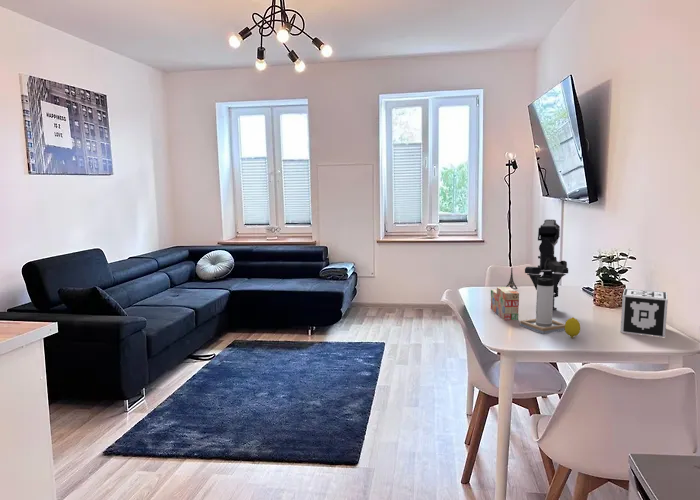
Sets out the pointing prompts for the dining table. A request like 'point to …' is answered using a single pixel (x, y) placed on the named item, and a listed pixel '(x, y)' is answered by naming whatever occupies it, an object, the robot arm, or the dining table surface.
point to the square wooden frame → (532, 325)
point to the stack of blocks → (505, 302)
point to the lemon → (572, 327)
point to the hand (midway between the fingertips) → (546, 289)
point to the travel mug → (544, 301)
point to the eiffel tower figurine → (511, 282)
